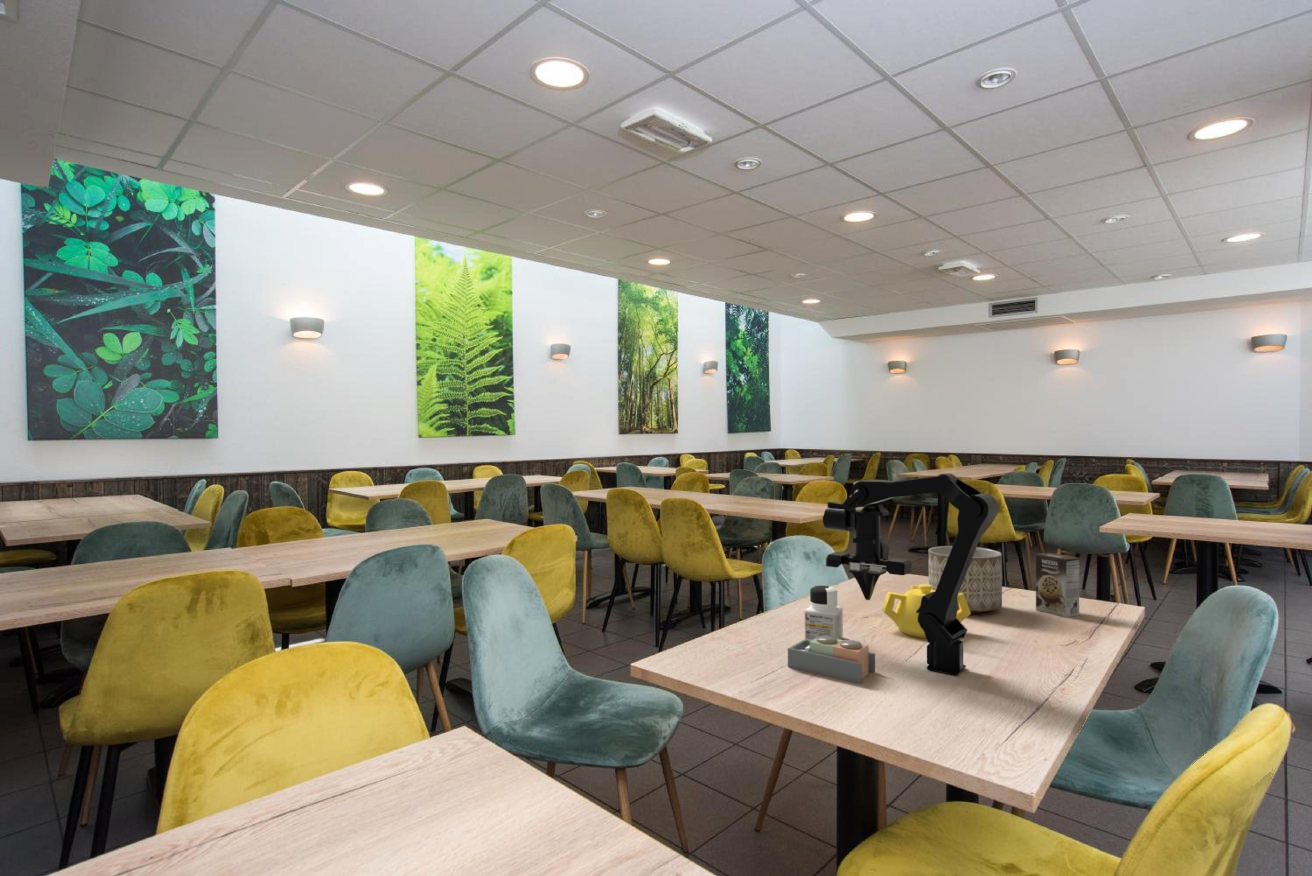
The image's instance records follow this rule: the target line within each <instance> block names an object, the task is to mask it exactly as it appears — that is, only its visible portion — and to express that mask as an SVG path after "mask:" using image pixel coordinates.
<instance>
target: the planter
mask: <svg viewBox="0 0 1312 876" xmlns="http://www.w3.org/2000/svg"><path fill="white" fill-rule="evenodd" d="M952 546H953V545H944V546H943V545H941V546H934V547H933V546H932V547H929V548H928V585H931V586H932V589H931V590H936V588H937V586H938V583H939V580H940V578H941V575H942V573H943V570H944V567H945V565H946V562H947V559H948V557H949V554H950V552H951V549H952ZM1002 555H1003V554H1002V552H1001V551H998V550H993V549H990V548H986V547H985V548H984V547H978V546H977V547H976V550H975V552H974V555H973V557H972V560H971V562H970V565H969V568H968V570H967V573H966V575H965V578H964V580H963V583H962V585H961V588H960V591H959V593H963V594H964V596H965V599H966V601H967V604H968V607H969V610H970V612H971V614H976V613H983V612H990V611H996V610H999V609H1001V608H1002V606H1003V575H1002V574H1003V566H1002V565H1003V564H1002V563H1003V558H1002ZM957 601H958V600H957ZM959 609H960V608H959V604H958V610H959ZM958 610H957V611H958Z"/></svg>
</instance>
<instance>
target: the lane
mask: <svg viewBox="0 0 1312 876" xmlns="http://www.w3.org/2000/svg"><path fill="white" fill-rule="evenodd" d="M809 645H810V640H805V638H804V639H803V640H801V641H799V642H797V643H796V644H793V645H791V646H790V647H788V648H787V667H789V668H793V669H796V670H801V671H805V672H810V673H814V674H818V675H823V676H827V677H832V678H836V679H841V680H845V681H849V682H854V683H858V684H862V683H863V678H862V663H859V662H854V661H850V660H845V659H840V658H835V657H831V656H826V655H821V654H816V653H811V652H807V651H802V650H798V649H803V650H805V648H806V647H807V646H809ZM868 661H869V672H870V673H873V674H874V673H875V674H876V653H875V652H871V651H868Z"/></svg>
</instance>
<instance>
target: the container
mask: <svg viewBox="0 0 1312 876" xmlns="http://www.w3.org/2000/svg"><path fill="white" fill-rule="evenodd" d="M809 593H810V596H809V598H810V599H809V600H810V601H809V604H810V606H809V607H807V608H806V609H805V610H804V639H805V640H810V641H812V640H814V639H816V637H818V636H822V635H828V636H833V637H836V638H837V639H840V640H842V638H843V637H844V630H843V629H844V628H843V627H844V624H843V621H844V619H843V618H844V616H843V615H844V614H843V612H844V611H843V610H844V609H843V608H844V607H843V606H839V605H838V590H837V588H835V587H833V586H830V585H815V586H813V587H811V588H810V589H809Z"/></svg>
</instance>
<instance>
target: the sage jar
mask: <svg viewBox="0 0 1312 876" xmlns="http://www.w3.org/2000/svg"><path fill="white" fill-rule="evenodd" d="M841 641H843V639H837V638H836V637H833V636H828V635H822V636H818V637H816V639H814V640H812V641H810V652H811V653H816V654H821V655H826V656H831V657H833V647H834V646H835V645H837V644H839V643H840V642H841Z"/></svg>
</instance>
